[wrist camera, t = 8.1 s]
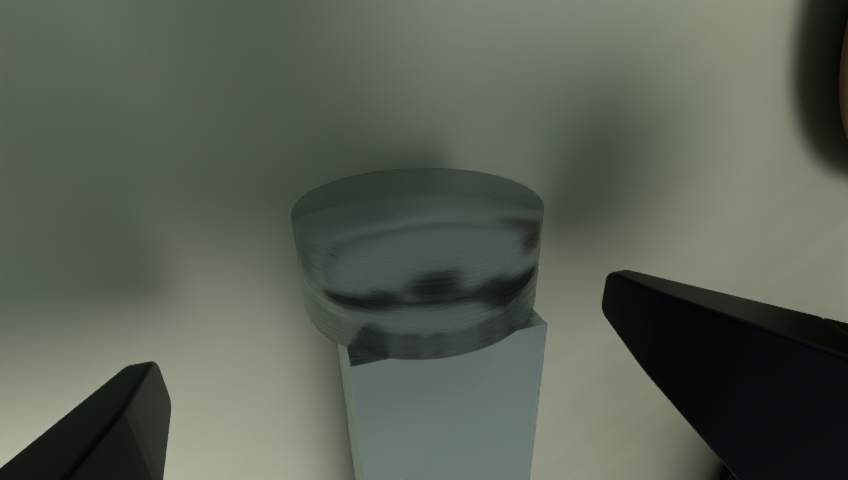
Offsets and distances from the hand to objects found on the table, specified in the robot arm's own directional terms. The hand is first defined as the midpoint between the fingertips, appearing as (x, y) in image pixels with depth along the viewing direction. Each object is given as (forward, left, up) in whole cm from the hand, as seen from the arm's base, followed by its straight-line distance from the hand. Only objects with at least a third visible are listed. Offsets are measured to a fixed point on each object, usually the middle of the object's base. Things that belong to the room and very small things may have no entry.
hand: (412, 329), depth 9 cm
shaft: (0, +14, -2) cm, 14 cm away
